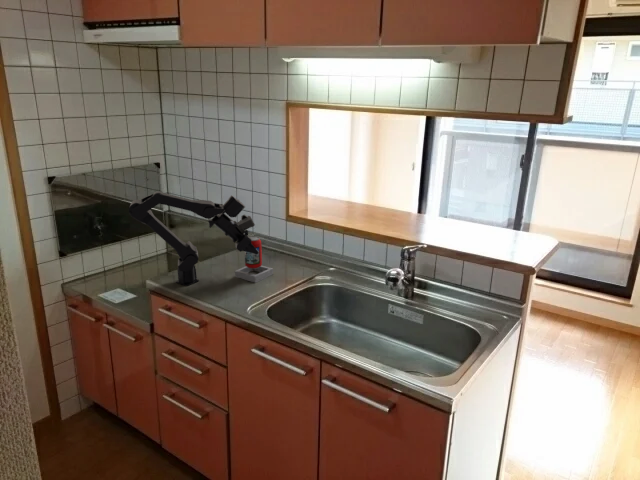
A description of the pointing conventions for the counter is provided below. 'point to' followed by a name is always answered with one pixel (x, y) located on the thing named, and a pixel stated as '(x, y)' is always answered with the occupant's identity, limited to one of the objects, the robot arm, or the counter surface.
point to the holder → (245, 275)
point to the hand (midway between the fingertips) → (256, 250)
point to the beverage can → (254, 259)
